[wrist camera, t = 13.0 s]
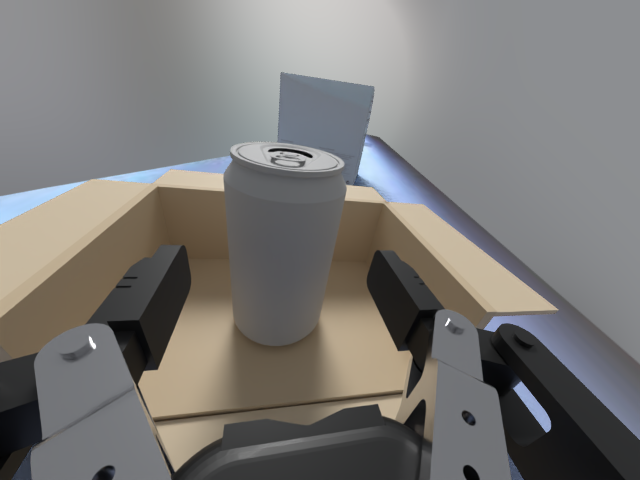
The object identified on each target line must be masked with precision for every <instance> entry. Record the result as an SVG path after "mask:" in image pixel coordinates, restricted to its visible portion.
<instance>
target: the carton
mask: <svg viewBox="0 0 640 480" xmlns="http://www.w3.org/2000/svg"><path fill="white" fill-rule="evenodd" d="M223 175H224V174H218V173H206V172H195V171H184V170H173V169H170V170H169V171H168V172H167V173H165V174H164V175H163V176H161V177H160V178H159V179H158V180H156V181H155V182H154V183H151V184H149V183H136V182H123V181H110V180H97V179H91V180H89V181H87V182H85V183H83V184H81V185H79V186H77V187H75V188H73V189H71V190H69V191H67V192H65V193H63V194H61V195H59V196H57V197H55V198H53V199H51V200H49V201H47V202H45V203H43V204H41V205H39V206H37V207H35V208H33V209H31V210H29V211H27V212H25V213H23V214H21V215H19V216H17V217H15V218H13V219H11V220H9V221H7V222H5V223H3V224H1V225H0V362H4V361H8V360H12V359H15V358H19V357H23V356H26V355H30V354H34V353H37V352H39V351H40V350H41V349H42V348H43V347H44V346H45V345H46V344H47V343H48V342H49V341H51V340H52V339H53V338H55V337H57V336H58V335H60V334H62V333H63V332H65V331H68V330H70V329H72V328H75V327H78V326H81V325H85V324H86V323H87V321H88V320H89V319H90V318H91V316H92V315H93V314H94V313H95V311H96V310H97V309H98V308H99V306H100V305H101V304H102V302H103V301H104V300H105V299H106V297H107V296H108V295H109V294H110V292H111V291H112V290H113V289H114V288H116V285H117V283H118V282H119V281H120V280H121V279H123V276H124V275H125V273H126V272H127V271H128V270H129V268H130V267H131V266H132V265H134V264H135V263H137V262H138V261H140V260H142V259H143V258H152V256H153V255H154V254H155V252H156V251H157V249H158V248H159V247H160V246H161V245H184V246H185V247H186V250H187V256H188V261H189V267H190V272H191V288H190V291H189V294H188V296H187V299H186V301H185V304H184V306H183V309H182V311H181V314H180V316H179V319H178V321H177V324H176V326H175V329H174V331H173V333H172V336H171V338H170V341H169V343H168V346H167V348H166V351H165V353H164V356H163V358H162V361H161V363H160V366H159V368H158V370H151V371H144V372H143V374H142V376H141V379H140V381H139V383H138V385H139V387H140V389H141V392H142V394H143V397H144V399H145V401H146V404H147V406H148V409H149V411H150V413H151V416H152V418H153V420H154V423H155V425H156V428H157V430H158V432H159V435H160V437H161V439H162V442H163V444H164V446H165V448H166V451H167V453H168V455H169V457H170V460H171V462H172V464H173V467H174V469H175V471H177V470H178V469H179V468H180V467H181V466H182V465H183V464H184V463H185V462H186V461H187V460H188V459H190V458H191V457H192V456H193V455H194V454H196V453H197V452H198V451H200V450H201V449H202V448H204V447H206V446H207V445H209V444H211V443H212V442H214V441H216V440H218V439H220V438H222V437H223V430H224V424H231V423H239V422H246V421H253V420H261V419H271V420H276V421H282V422H288V423H294V424H300V425H311V424H313V423H315V422H317V421H319V420H321V419H323V418H325V417H327V416H329V415H332V414H334V413H336V412H338V411H340V410H342V409H344V408H351V407H358V406H366V405H373V404H378V406H379V408H380V411H381V414H382V416H385V417H388V418H391V419H394V420H395V418H396V416H397V413H398V411H399V408H400V405H401V401H402V396H403V390H404V385H405V380H406V374H407V369H408V364H409V360H410V358H411V356H412V354H411V353H410V351H398V350H397V348H396V346H395V344H394V342H393V340H392V338H391V335H390V333H389V331H388V329H387V327H386V325H385V323H384V321H383V319H382V317H381V315H380V313H379V311H378V309H377V306H376V304H375V302H374V300H373V298H372V296H371V294H370V292H369V290H368V287H367V275H368V272H369V269H370V265H371V262H372V259H373V256H374V253H375V252H376V251H377V250H392V251H394V252H395V253H396V254H397V255H398V257H399V258H400V259H401V261H404V262H405V263H407V264H408V265H409V266H411V267H412V268H413V269H414V270H415V271H416V273H417V274H418V275H419V276H420V277H419V278H421V279H422V280H423V281H424V283H425V285H427V287H428V288H429V289H430V290H431V292H432V293H433V294H434V295H435V297H436V298H437V299H438V300H439V302H440V303H441V304H442V306H443V307H444V308H445V309H447V310H452V311H455V312H457V313H459V314H461V315H463V316H464V317H466V318H467V319H468V320H469V321H470V322H471V323H472V324H473V325H474V326H475V328H478V329H484V328H485V327H486V325H487V324H488V323H489V322H490V320H491V319H492V318H493V316H515V315H540V314H555V313H556V312H557V311H558V309H557V308H555V307H554V306H553V305H552V304H550V303H549V302H548V301H546V300H545V299H544V298H543V297H541V296H540V295H539V294H537V293H536V292H535V291H534V290H532V289H531V288H530V287H528V286H527V285H526V284H525V283H523V282H522V281H521V280H519V279H518V278H517V277H516V276H514V275H513V274H512V273H511V272H509V271H508V270H507V269H505V268H504V267H503V266H502V265H500V264H499V263H498V262H496V261H495V260H494V259H493V258H491V257H490V256H489V255H487V254H486V253H485V252H484V251H482V250H481V249H480V248H478V247H477V246H476V245H475V244H473V243H472V242H471V241H469V240H468V239H467V238H466V237H464V236H463V235H462V234H460V233H459V232H458V231H457V230H455V229H454V228H453V227H451V226H450V225H449V224H448V223H446V222H445V221H444V220H442V219H441V218H440V217H439V216H437V215H436V214H435V213H433V212H432V211H431V210H430V209H428V208H427V207H426V206H424V205H423V204H410V203H397V202H387V201H386V200H385V199H384V198H383V197H382V196H381V195H380V194H379V193H378V192H377V191H376V190H375V189H374V188H373V187H363V186H351V185H346V187H347V191H346V196H345V201H344V205H343V210H342V215H341V220H340V224H339V229H338V234H337V238H336V243H335V248H334V253H333V257H332V262H331V267H330V271H329V276H328V281H327V285H326V290H325V295H324V300H323V304H322V309H321V314H320V318H319V321H318V323H317V325H316V327H315V328H314V329H313V331H312V332H311V333H310V334H308V335H307V336H306V337H305V338H303V339H301V340H299V341H297V342H295V343H292V344H288V345H283V346H269V345H263V344H260V343H257V342H254V341H252V340H251V339H249V338H247V337H246V336H245V335H244V334H243V333H242V332H241V331H240V330H239V329H238V327H237V325H236V323H235V321H234V317H233V306H232V292H231V278H230V264H229V250H228V236H227V222H226V207H225V193H224V179H223Z"/></svg>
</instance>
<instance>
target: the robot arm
mask: <svg viewBox="0 0 640 480" xmlns="http://www.w3.org/2000/svg"><path fill="white" fill-rule="evenodd" d="M419 277H420V276H419V275H418V274H417V273H416V271H415V270H414V269H413V268H412V267H411V266H409V265H408V264H407V263H405V262H404V261H401V259H400V258H399V257H398V255H397V254H396V253H395V252H394V251H392V250H377V251H376V252H375V253H374V256H373V259H372V262H371V265H370V269H369V272H368V275H367V287H368V290H369V292H370V294H371V296H372V298H373V300H374V302H375V304H376V306H377V309H378V311H379V313H380V315H381V317H382V319H383V321H384V323H385V325H386V327H387V329H388V331H389V333H390V335H391V338H392V340H393V342H394V344H395V346H396V348H397V350H398V351H410V353H411V354H412V356H411V358H410V360H409V364H408V369H407V374H406V380H405V385H404V390H403V396H402V401H401V405H400V408H399V411H398V413H397V416H396V418H395V420H394V419H391V418H388V417H385V416H382V414H381V411H380V408H379V406H378V404H373V405H366V406H358V407H351V408H344V409H342V410H340V411H338V412H336V413H334V414H332V415H329V416H327V417H325V418H323V419H321V420H319V421H317V422H315V423H313V424H311V425H300V424H294V423H288V422H282V421H276V420H271V419H261V420H253V421H246V422H239V423H231V424H224V430H223V437H222V438H220V439H218V440H216V441H214V442H212V443H211V444H209V445H207V446H206V447H204V448H202V449H201V450H200V451H198V452H197V453H196V454H194V455H193V456H192V457H191V458H190V459H188V460H187V461H186V462H185V463H184V464H183V465H182V466H181V467H180V468H179V469H178V470H177V471H175V469H174V467H173V464H172V462H171V460H170V457H169V455H168V453H167V451H166V448H165V446H164V444H163V442H162V439H161V437H160V435H159V432H158V430H157V428H156V425H155V423H154V420H153V418H152V416H151V413H150V411H149V409H148V406H147V404H146V401H145V399H144V397H143V394H142V392H141V389H140V387H139V385H138V383H139V381H140V379H141V376H142V374H143V372H144V371H151V370H158V368H159V366H160V363H161V361H162V358H163V356H164V353H165V351H166V348H167V346H168V343H169V341H170V338H171V336H172V333H173V331H174V329H175V326H176V324H177V321H178V319H179V316H180V314H181V311H182V309H183V306H184V304H185V301H186V299H187V296H188V294H189V291H190V288H191V272H190V267H189V261H188V256H187V250H186V247H185V246H184V245H161V246H160V247H159V248H158V249H157V251H156V252H155V254H154V255H153V256H152V258H143V259H142V260H140V261H138V262H137V263H135V264H134V265H132V266H131V267H130V268H129V270H128V271H127V272H126V273H125V275H124V276H123V279H121V280H120V281H119V282H118V283H117V285H116V288H114V289H113V290H112V291H111V292H110V294H109V295H108V296H107V297H106V299H105V300H104V301H103V302H102V304H101V305H100V306H99V308H98V309H97V310H96V311H95V313H94V314H93V315H92V316H91V318H90V319H89V320H88V321H87V323H86V324H85V325H81V326H78V327H75V328H72V329H70V330H68V331H65V332H63V333H62V334H60V335H58V336H57V337H55V338H53V339H52V340H51V341H49V342H48V343H47V344H46V345H45V346H44V347H43V348H42V349H41V350H40V351H39V352H37V353H34V354H30V355H26V356H23V357H19V358H15V359H12V360H8V361H4V362H0V480H11V479H12V478H13V476H14V474H15V473H16V471H17V470H18V468H19V466H20V465H21V463H22V461H23V460H24V458H25V457H26V455H27V453H28V452H29V450H30V448H31V447H32V445H33V444H35V443H37V444H36V445H34V447H33V448H32V451H31V460H30V461H31V475H32V480H512V479H511V473H510V466H509V460H508V454H509V456H510V457H511V459H512V461H513V462H514V464H515V466H516V467H517V469H518V471H519V472H520V474H521V475H522V477H523V479H524V480H640V440H639V439H638V438H637V437H636V436H635V435H634V434H633V433H632V432H631V431H630V430H629V429H628V428H627V427H626V426H625V425H624V424H623V423H622V422H621V421H620V420H619V419H618V418H617V417H616V416H615V415H614V414H613V413H612V412H611V411H610V410H609V409H608V408H607V407H606V406H605V405H604V404H603V403H602V402H601V401H600V400H599V399H598V398H597V397H596V396H595V395H594V394H593V393H592V392H591V391H590V390H589V389H588V388H587V387H586V386H585V385H584V384H583V383H582V382H581V381H580V380H579V379H578V378H577V377H576V376H575V375H574V374H573V373H572V372H570V371H569V370H568V369H567V368H566V367H565V366H564V365H563V364H562V363H561V362H560V361H559V360H558V359H557V358H556V357H555V356H554V355H553V354H552V353H551V352H550V351H549V350H548V349H547V348H546V347H545V346H544V345H543V344H542V343H541V342H540V341H539V340H538V339H537V338H536V337H535V336H534V335H532V334H531V333H530V332H528V331H526V330H525V329H523V328H521V327H519V326H516V325H513V324H507V323H506V324H501V325H500V326H499V328H498V329H497V330H496V331H495V332H491V331H487V330H483V329H478V328H475V326H474V325H473V324H472V323H471V322H470V321H469V320H468V319H467V318H466V317H464V316H463V315H461V314H459V313H457V312H455V311H452V310H447V309H445V308H444V307H443V306H442V304H441V303H440V302H439V300H438V299H437V298H436V297H435V295H434V294H433V293H432V292H431V290H430V289H429V288H428V287H427V285H425V283H424V281H423V280H422V279H421V278H419ZM521 381H522V382H523V383H524V385H525V386H526V387H527V388H528V390H529V391H530V392H531V393H532V395H533V396H534V397H535V398H536V400H537V401H538V402H539V403H540V405H541V406H542V407H543V408H544V410H545V411H546V412H547V414H548V416H549V418H550V420H551V429H550V431H549V432H547V433H546V432H545V431H544V429H543V428H542V427H541V425H540V424H539V423H538V421H537V420H536V419H535V417H534V416H533V415H532V413H531V412H530V411H529V409H528V408H527V407H526V405H525V404H524V403H523V401H522V400H521V399H520V397H519V396H518V395H517V393H516V392H515V391H514V389H513V388H514V387H515V386H516V385H517V384H518V383H519V382H521ZM40 441H41V442H40ZM38 442H39V443H38ZM507 452H508V454H507Z"/></svg>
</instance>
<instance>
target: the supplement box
mask: <svg viewBox="0 0 640 480" xmlns="http://www.w3.org/2000/svg"><path fill="white" fill-rule="evenodd" d="M280 76H281V77H280V79H281V80H280V102H279V123H278V143H288V144H295V145H301V146H306V147H311V148H315V149H319V150H322V151H325V152H328V153H331V154H333V155H336V156H337V157H339V158H341V159H342V160H343V161H344V170H343V171H342V172H341V174H342V176H343V179H344V181H345V184H346V185H351V186H353V185H354V183H355V180H356V177H357V174H358V169H359V165H360V160H361V156H362V151H363V147H364V142H365V137H366V133H367V128H368V123H369V119H370V114H371V108H372V104H373V97H374V86H366V85H360V84H354V83H347V82H341V81H335V80H327V79H321V78H314V77H308V76H302V75H296V74H288V73H284V72H281V75H280Z"/></svg>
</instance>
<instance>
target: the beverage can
mask: <svg viewBox="0 0 640 480" xmlns="http://www.w3.org/2000/svg"><path fill="white" fill-rule="evenodd" d="M230 156H231V158H232V159H233V160H232V162H231V163H230V165H229V166H228V167H227V169H226V171H225V173H224V175H223V179H224V193H225V207H226V222H227V236H228V250H229V264H230V278H231V292H232V306H233V317H234V321H235V323H236V325H237V327H238V329H239V330H240V331H241V332H242V333H243V334H244V335H245V336H246V337H247V338H249V339H251V340H252V341H254V342H257V343H260V344H263V345H269V346H283V345H288V344H292V343H295V342H297V341H299V340H301V339H303V338H305V337H306V336H307V335H308V334H310V333H311V332H312V331H313V329H314V328H315V327H316V325H317V323H318V321H319V318H320V314H321V309H322V304H323V300H324V295H325V290H326V285H327V281H328V276H329V271H330V267H331V262H332V257H333V253H334V248H335V243H336V238H337V234H338V229H339V224H340V220H341V215H342V210H343V205H344V201H345V196H346V191H347V187H346V184H345V181H344V179H343V176H342V174H341V172H342V171H343V170H344V161H343V160H342V159H341V158H339V157H337V156H336V155H333V154H331V153H328V152H325V151H322V150H319V149H315V148H311V147H306V146H301V145H295V144H288V143H278V142H246V143H240V144H236V145H234V146H232V147H231V149H230Z"/></svg>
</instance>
